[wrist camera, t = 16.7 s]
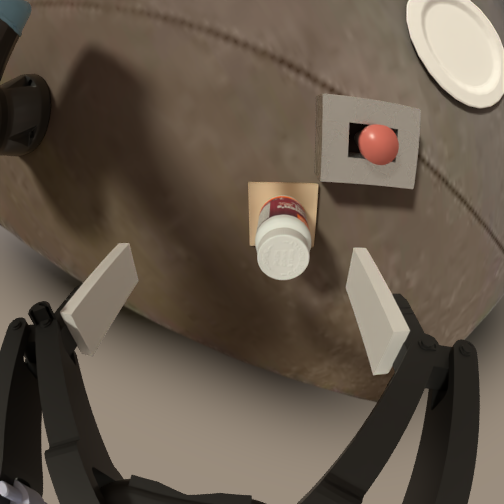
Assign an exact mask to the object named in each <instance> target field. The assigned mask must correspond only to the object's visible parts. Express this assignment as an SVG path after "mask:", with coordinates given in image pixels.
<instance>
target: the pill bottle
mask: <svg viewBox="0 0 504 504" xmlns="http://www.w3.org/2000/svg"><path fill="white" fill-rule="evenodd" d="M255 246H256V250H257V253H258V254H257V260H258V264H259V266H260V268H261V270H262V271H263V272H264V273H265V274H266V275H268V276H269V277H271V278H274V279H278V280H289V279H292V278H295V277H297V276H299V275H300V274H301V273H303V271H304V270H305V269H306V268H307V266H308V263H309V257H310V256H309V252H310V249H311V234H310V230H309V225H308V222H307V217H306V214H305V211H304V208H303V206H302V205H301V204H300V202H299V201H297V200H296V199H294V198H292V197H290V196H285V195H280V196H275V197H273V198H271V199H269V200H268V201H266V202H265V204H264V205H263V206H262V208H261V210H260V214H259V219H258V226H257V231H256V237H255Z"/></svg>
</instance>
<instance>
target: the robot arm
mask: <svg viewBox="0 0 504 504" xmlns="http://www.w3.org/2000/svg"><path fill="white" fill-rule="evenodd" d="M30 14H31V5H30V4H29V3H28V2H26V1H24V0H0V81H1V78H2V75H3V73H4V70H5V68H6V65H7V63H8V60H9V58H10V56H11V54H12V51H13V49H14V47H15V45H16V43H17V41H18V39H19V37H21V35H22V30H23V28H24V26H25V24H26V22H27V20H28V18H29V16H30ZM49 116H50V94H49V90H48V87H47V84H46V82H45V81H44V79H43V78H42V77H40V76H39V75H36V74H24V75H20V76H18V77H16V78H14V79H12V80H10V81H8V82H6V83H4V84H2V85H0V155H7V156H21V155H24V154H27V153H30V152H32V151H33V150H34V149H35V148H36V147H37V146H38V145H39V144H40V142H41V141H42V139H43V137H44V134H45V132H46V129H47V126H48V122H49ZM137 282H138V277H137V273H136V269H135V265H134V261H133V257H132V253H131V249H130V244H129V243H119V244H118V245H117V246H116V247H115V248H114V249H113V250H112V251H111V252H110V253H109V254H108V255H107V257H106V258H105V259H104V260H103V261H102V262H101V263H100V264H99V266H98V267H97V268H96V269H95V270H94V271H93V272H92V274H91V275H90V276H89V277H88V278H87V279H86V281H85V282H84V283H81V284H80V285H79V286H77V287H76V288H74V290H73V291H72V292H71V293H70V295H69V296H68V297H67V298H66V300H65V301H64V302H63V303H62V304H61V306H60V307H59V308H58V309H57V311H56V312H55V313H53V311H52V309H51V307H50V304H49V303H48V302H46V301H42V302H38V303H37V304H35V305H34V306H32V307H31V309H30V310H29V313H28V315H29V316H30V318H31V320H32V322H33V324H34V325H28V324H27V322H26V320H25V319H24V318H17V319H15V320H13V321H12V322H11V323H10V325H9V327H8V329H7V332H6V335H5V338H4V341H3V344H2V347H1V350H0V504H47V503H46V502H44V500H43V499H42V495H43V472H42V455H41V420H42V413H43V418H44V424H45V428H46V433H47V437H48V442H49V446H50V448H49V449H48V450H46V451H45V459H46V464H47V467H48V470H49V474H50V477H51V480H52V483H53V486H54V489H55V492H56V495H57V497H58V500H59V502H60V504H265V503H263V502H260V501H257V500H253V499H252V496H250V495H235V494H224V493H216V494H201V495H186V494H183V493H181V492H178V491H176V490H174V489H172V488H170V487H168V486H165V485H163V484H161V483H159V482H157V481H153V480H149V479H145V478H141V477H138V476H135V475H131V479H123V477H122V476H121V475H120V473H119V472H118V471H117V469H116V468H115V467H114V465H113V463H112V462H111V459H110V457H109V455H108V452H107V450H106V448H105V445H104V443H103V440H102V438H101V435H100V433H99V430H98V427H97V424H96V422H95V419H94V416H93V413H92V410H91V407H90V404H89V400H88V397H87V394H86V391H85V387H84V383H83V379H82V376H81V372H80V368H79V363H78V359H77V355H76V353H75V351H74V350H75V348H76V347H77V346H78V348H79V350H80V352H81V353H82V354H85V355H89V356H94V354H95V352H96V350H97V349H98V347H99V345H100V343H101V341H102V340H103V338H104V336H105V334H106V333H107V331H108V329H109V327H110V326H111V324H112V323H113V321H114V319H115V318H116V316H117V314H118V313H119V311H120V309H121V308H122V306H123V305H124V303H125V301H126V300H127V298H128V297H129V295H130V293H131V292H132V290H133V289H134V287H135V286H136V284H137ZM346 290H347V293H348V296H349V299H350V301H351V304H352V307H353V310H354V313H355V316H356V319H357V323H358V326H359V329H360V332H361V335H362V338H363V342H364V345H365V348H366V352H367V355H368V359H369V362H370V366H371V369H372V373H373V375H379V374H388V373H389V371H390V369H391V367H392V366H393V368H394V370H395V373H394V375H393V377H392V378H391V380H390V382H389V383H388V385H387V387H386V389H385V391H384V392H383V394H382V396H381V397H380V399H379V401H378V402H377V404H376V406H375V407H374V409H373V410H372V412H371V413H370V415H369V416H368V418H367V419H366V421H365V422H364V424H363V425H362V427H361V428H360V430H359V431H358V432H357V434H356V436H355V437H354V438H353V439H352V441H351V442H350V444H349V445H348V446H347V448H346V449H345V450H344V451H343V453H342V454H341V455H340V456H339V458H338V459H337V460H336V461H335V463H334V464H333V465H332V466H331V467H330V469H329V470H328V471H327V472H326V473H325V474H324V476H323V477H322V478H321V479H320V480H319V481H318V482H317V483H316V485H315V486H314V487H313V488H312V489H311V490H310V491H309V492H308V493H307V494H306V495H305V496H304V497H303V498H302V499H301V500H300V501H299V502H298V503H297V504H361V503H362V500H363V497H364V495H365V494H366V492H367V491H368V489H369V488H370V486H371V485H372V483H373V482H374V481H375V479H376V478H377V477H378V475H379V473H380V472H381V470H382V469H383V467H384V466H385V464H386V463H387V461H388V459H389V458H390V456H391V454H392V453H393V451H394V449H395V448H396V446H397V444H398V442H399V441H400V439H401V437H402V435H403V433H404V431H405V429H406V428H407V426H408V424H409V421H410V419H411V418H412V415H413V413H414V411H415V409H416V407H417V405H418V403H419V401H420V398H421V396H422V394H423V391H424V389H425V388H428V389H429V392H428V400H427V407H426V413H425V419H424V425H423V430H422V435H421V440H420V445H419V449H418V453H417V457H416V461H415V465H414V468H413V472H412V475H411V479H410V482H409V485H408V488H407V491H406V494H405V497H404V500H403V503H402V504H467V503H468V499H469V495H470V491H471V486H472V481H473V475H474V469H475V461H476V455H477V444H478V433H479V410H480V409H479V408H480V403H479V402H480V401H479V400H480V398H479V397H480V395H479V371H478V359H477V352H476V349H475V347H474V346H473V344H471V343H470V342H468V341H466V340H458V341H456V343H455V344H454V345H453V347H447V346H441V345H439V344H438V342H437V341H436V339H435V338H434V337H432V336H430V335H428V334H425V333H424V331H423V329H422V327H421V326H420V324H419V322H418V320H417V318H416V316H415V314H414V312H413V310H412V309H411V307H410V305H409V303H408V301H407V300H406V299H405V298H404V297H403V296H402V295H401V294H391V292H390V290H389V288H388V286H387V284H386V282H385V281H384V279H383V277H382V275H381V273H380V272H379V270H378V268H377V266H376V264H375V263H374V261H373V259H372V257H371V256H370V254H369V252H368V251H367V249H366V248H353V254H352V259H351V264H350V269H349V274H348V279H347V284H346ZM24 357H25V358H26V359H25V362H24Z"/></svg>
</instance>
